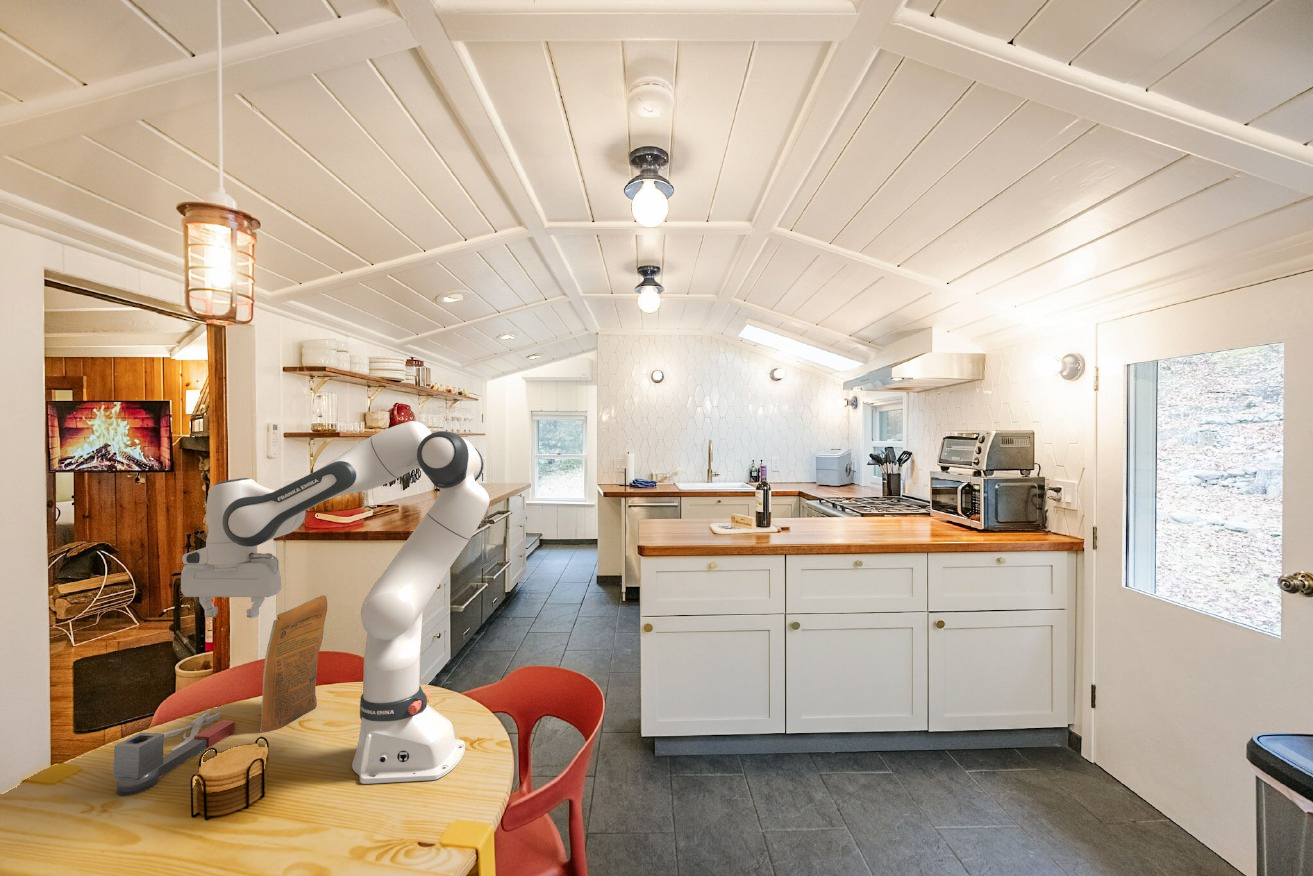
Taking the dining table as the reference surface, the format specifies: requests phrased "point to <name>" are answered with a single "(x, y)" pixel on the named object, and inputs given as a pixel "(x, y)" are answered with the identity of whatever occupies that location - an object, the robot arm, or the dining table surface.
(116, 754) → the socket
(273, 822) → the dining table surface
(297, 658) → the pancake mix bag
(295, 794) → the dining table surface
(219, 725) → the ratchet
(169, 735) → the pliers
